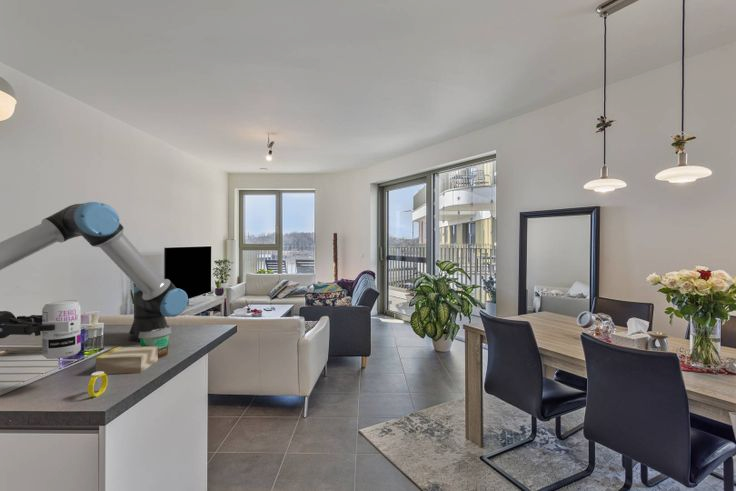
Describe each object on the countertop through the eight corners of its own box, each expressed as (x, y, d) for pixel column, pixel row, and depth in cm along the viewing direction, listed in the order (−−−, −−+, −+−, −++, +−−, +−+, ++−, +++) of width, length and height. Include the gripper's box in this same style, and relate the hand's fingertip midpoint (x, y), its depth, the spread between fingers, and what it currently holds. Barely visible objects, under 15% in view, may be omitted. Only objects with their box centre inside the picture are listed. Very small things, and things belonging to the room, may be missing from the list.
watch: (95, 400, 93) (95, 378, 93) (84, 400, 93) (83, 378, 93) (110, 389, 99) (109, 368, 99) (100, 389, 99) (99, 368, 99)
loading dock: (117, 361, 122) (117, 346, 122) (157, 360, 124) (157, 345, 124) (95, 374, 111) (95, 357, 111) (140, 372, 112) (141, 356, 112)
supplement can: (60, 350, 105) (60, 299, 105) (88, 350, 105) (87, 300, 105) (34, 359, 97) (33, 304, 97) (63, 359, 97) (63, 305, 97)
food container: (153, 362, 122) (153, 333, 122) (138, 360, 124) (138, 332, 124) (179, 351, 134) (179, 325, 134) (165, 350, 136) (165, 324, 136)
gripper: (21, 329, 109) (102, 326, 112) (-49, 350, 88) (53, 346, 91) (21, 304, 109) (102, 303, 112) (-50, 319, 88) (53, 317, 91)
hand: (80, 322), depth 101 cm, fingers closed on supplement can, 8 cm apart
